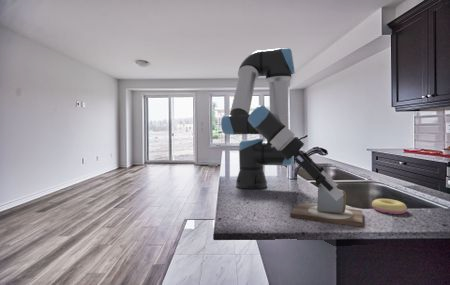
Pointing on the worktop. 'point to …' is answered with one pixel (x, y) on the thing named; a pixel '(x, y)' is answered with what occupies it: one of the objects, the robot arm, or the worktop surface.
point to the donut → (389, 206)
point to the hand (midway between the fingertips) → (337, 192)
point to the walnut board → (328, 215)
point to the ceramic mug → (330, 202)
